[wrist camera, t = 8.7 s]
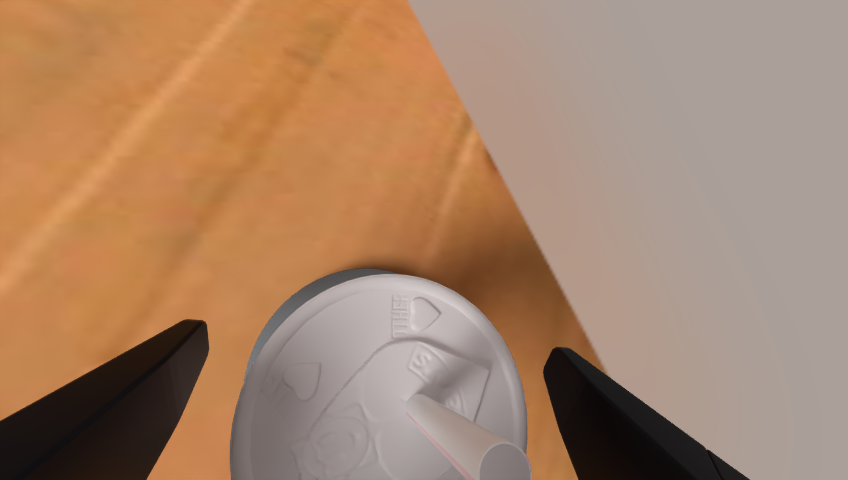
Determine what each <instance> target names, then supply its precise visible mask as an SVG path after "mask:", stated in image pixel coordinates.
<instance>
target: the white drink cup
mask: <svg viewBox="0 0 848 480" xmlns="http://www.w3.org/2000/svg"><path fill="white" fill-rule="evenodd" d="M527 433H528V424H527V409H526V402H525V396H524V391H523V386H522V382H521V379H520V376H519V372H518V369H517V367H516V364H515V362H514V359H513V357H512V355H511V353H510V351H509V349H508V347H507V345H506V343H505V342H504V340H503V338H502V337H501V335H500V334H499V332H498V331H497V330H496V328H495V327H494V325H493V324H492V323H491V322H490V321H489V320H488V318H487V317H486V316H485V315H484V314H483V313H482V312H481V311H480V310H479V309H478V308H477V307H476V306H475V305H473V304H472V303H471V302H469V301H468V300H467V299H466V298H464V297H463V296H461V295H460V294H458V293H457V292H455V291H453V290H451V289H449V288H447V287H445V286H443V285H441V284H438V283H436V282H433V281H430V280H427V279H424V278H420V277H415V276H409V275H400V274H381V275H371V276H366V277H361V278H357V279H353V280H350V281H346V282H344V283H341V284H339V285H336V286H334V287H332V288H330V289H328V290H326V291H324V292H322V293H320V294H318V295H317V296H315V297H314V298H312V299H310V300H309V301H307V302H306V303H305V304H303V305H302V306H301V307H300V308H298V309H297V310H296V311H295V312H294V313H292V314H291V315H290V316H289V317H288V318H287V319H286V320H285V321H284V322H283V323H282V324H281V325H280V326H279V327H278V329H277V330H276V331H275V332H274V333H273V334H272V336H271V337H270V338H269V340H268V341H267V342H266V344H265V345H264V346H263V348H262V350H261V351H260V353H259V354H258V356H257V358H256V359H255V361H254V363H253V365H252V367H251V369H250V371H249V373H248V375H247V377H246V380H245V382H244V385H243V387H242V389H241V392H240V396H239V399H238V402H237V405H236V409H235V414H234V419H233V423H232V431H231V440H230V471H231V480H532V472H531V466H530V463H529V460H528V458H527V456H526V449H527Z"/></svg>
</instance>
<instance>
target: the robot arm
mask: <svg viewBox="0 0 848 480" xmlns="http://www.w3.org/2000/svg"><path fill="white" fill-rule="evenodd" d="M208 352H209V341H208V331H207V324H206V322H205V321H203V320H192V319H186V320H183V321H181V322H179V323H177V324H175V325H173V326H172V327H170V328H168V329H166V330H164V331H163V332H161V333H159V334H157V335H155V336H154V337H152V338H150V339H148V340H146V341H144V342H143V343H141V344H139V345H137V346H135V347H134V348H132V349H130V350H128V351H126V352H124V353H123V354H121V355H119V356H117V357H115V358H114V359H112V360H110V361H108V362H106V363H104V364H103V365H101V366H99V367H97V368H95V369H94V370H92V371H90V372H88V373H86V374H85V375H83V376H81V377H79V378H77V379H75V380H74V381H72V382H70V383H68V384H66V385H65V386H63V387H61V388H59V389H57V390H55V391H54V392H52V393H50V394H48V395H46V396H45V397H43V398H41V399H39V400H37V401H36V402H34V403H32V404H30V405H28V406H26V407H25V408H23V409H21V410H19V411H17V412H16V413H14V414H12V415H10V416H8V417H6V418H5V419H3V420H1V421H0V480H146V479H147V478H148V476H149V474H150V472H151V471H152V469H153V467H154V465H155V464H156V462H157V460H158V458H159V456H160V455H161V453H162V451H163V449H164V448H165V446H166V444H167V442H168V440H169V439H170V437H171V435H172V433H173V432H174V430H175V428H176V426H177V424H178V422H179V420H180V418H181V416H182V414H183V411H184V409H185V407H186V405H187V402H188V400H189V398H190V395H191V393H192V391H193V388H194V386H195V384H196V381H197V379H198V377H199V375H200V372H201V370H202V368H203V365H204V363H205V361H206V358H207V356H208ZM543 374H544V379H545V383H546V386H547V389H548V393H549V396H550V400H551V403H552V407H553V410H554V414H555V417H556V421H557V424H558V427H559V430H560V433H561V436H562V438H563V441H564V444H565V446H566V449H567V451H568V454H569V456H570V459H571V462H572V464H573V467H574V469H575V472H576V474H577V477H578V480H749V479H748V478H747V477H745V476H744V475H743V474H741V473H740V472H738V471H737V470H736V469H734V468H733V467H731V466H730V465H729V464H727V463H726V462H724V461H723V460H722V459H720V458H719V457H718V456H716V455H715V454H714V453H712V452H711V451H710V450H706V448H705V447H704V446H703V445H701V444H700V443H699V442H697V441H696V440H694V439H693V438H691V437H690V436H689V435H688V434H686V433H685V432H683V431H682V430H681V429H679V428H678V427H676V426H675V425H674V424H673V423H671V422H670V421H668V420H667V419H666V418H664V417H663V416H662V415H660V414H659V413H657V412H656V411H655V410H653V409H652V408H650V407H649V406H648V405H647V404H645V403H644V402H642V401H641V400H640V399H638V398H637V397H636V396H634V395H633V394H631V393H630V392H629V391H627V390H626V389H625V388H623V387H622V386H621V385H619V384H618V383H616V382H615V381H614V380H612V379H611V378H610V377H608V376H607V375H606V374H604V373H603V372H601V371H600V370H599V369H597V368H596V367H595V366H593V365H592V364H591V363H589V362H588V361H586V360H585V359H584V358H582V357H581V356H580V355H578V354H577V353H575V352H574V351H573V350H571V349H570V348H565V347H555V348H554V349H553V350H552V352H551V354H550V356H549V358H548V360H547V362H546V364H545V366H544V370H543Z"/></svg>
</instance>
